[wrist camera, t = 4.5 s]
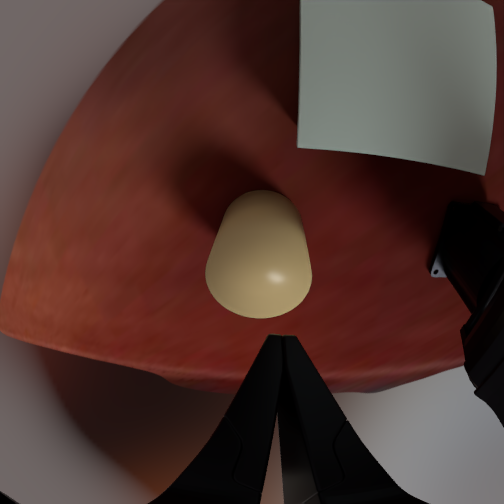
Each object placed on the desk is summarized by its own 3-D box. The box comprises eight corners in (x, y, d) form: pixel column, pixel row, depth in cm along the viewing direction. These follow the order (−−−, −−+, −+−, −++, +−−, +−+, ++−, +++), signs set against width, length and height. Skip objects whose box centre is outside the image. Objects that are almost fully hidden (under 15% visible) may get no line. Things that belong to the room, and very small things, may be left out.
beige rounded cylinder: (298, 263, 22) (305, 319, 16) (224, 259, 22) (209, 315, 17) (305, 191, 19) (317, 233, 14) (221, 188, 19) (201, 229, 14)
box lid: (478, 172, 12) (484, 175, 12) (296, 145, 13) (297, 147, 13) (486, 8, 7) (492, 6, 7) (298, -49, 8) (299, -54, 7)
